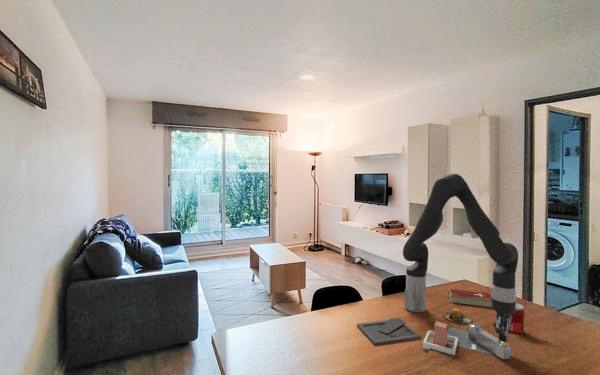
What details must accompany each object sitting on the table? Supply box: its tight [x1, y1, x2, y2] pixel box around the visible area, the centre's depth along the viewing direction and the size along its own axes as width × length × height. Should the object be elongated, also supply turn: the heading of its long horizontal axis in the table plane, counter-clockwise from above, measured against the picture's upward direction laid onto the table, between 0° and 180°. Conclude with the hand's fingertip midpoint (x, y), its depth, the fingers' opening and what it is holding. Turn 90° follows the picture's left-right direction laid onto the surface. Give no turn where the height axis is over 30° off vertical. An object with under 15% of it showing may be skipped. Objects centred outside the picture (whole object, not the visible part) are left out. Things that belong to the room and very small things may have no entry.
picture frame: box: [356, 317, 422, 346], centre depth 132 cm, size 16×2×21 cm
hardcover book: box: [447, 288, 492, 308], centre depth 166 cm, size 12×21×4 cm, turn 71°
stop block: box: [433, 320, 448, 347], centre depth 121 cm, size 4×4×8 cm
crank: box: [467, 322, 511, 360], centre depth 118 cm, size 17×5×6 cm, turn 13°
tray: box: [422, 330, 458, 356], centre depth 121 cm, size 11×11×3 cm
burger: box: [442, 307, 473, 325], centre depth 143 cm, size 12×12×8 cm
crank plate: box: [447, 326, 500, 358], centre depth 123 cm, size 20×15×1 cm
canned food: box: [508, 302, 525, 335], centre depth 134 cm, size 8×8×11 cm
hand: (502, 343), depth 116 cm, fingers closed
